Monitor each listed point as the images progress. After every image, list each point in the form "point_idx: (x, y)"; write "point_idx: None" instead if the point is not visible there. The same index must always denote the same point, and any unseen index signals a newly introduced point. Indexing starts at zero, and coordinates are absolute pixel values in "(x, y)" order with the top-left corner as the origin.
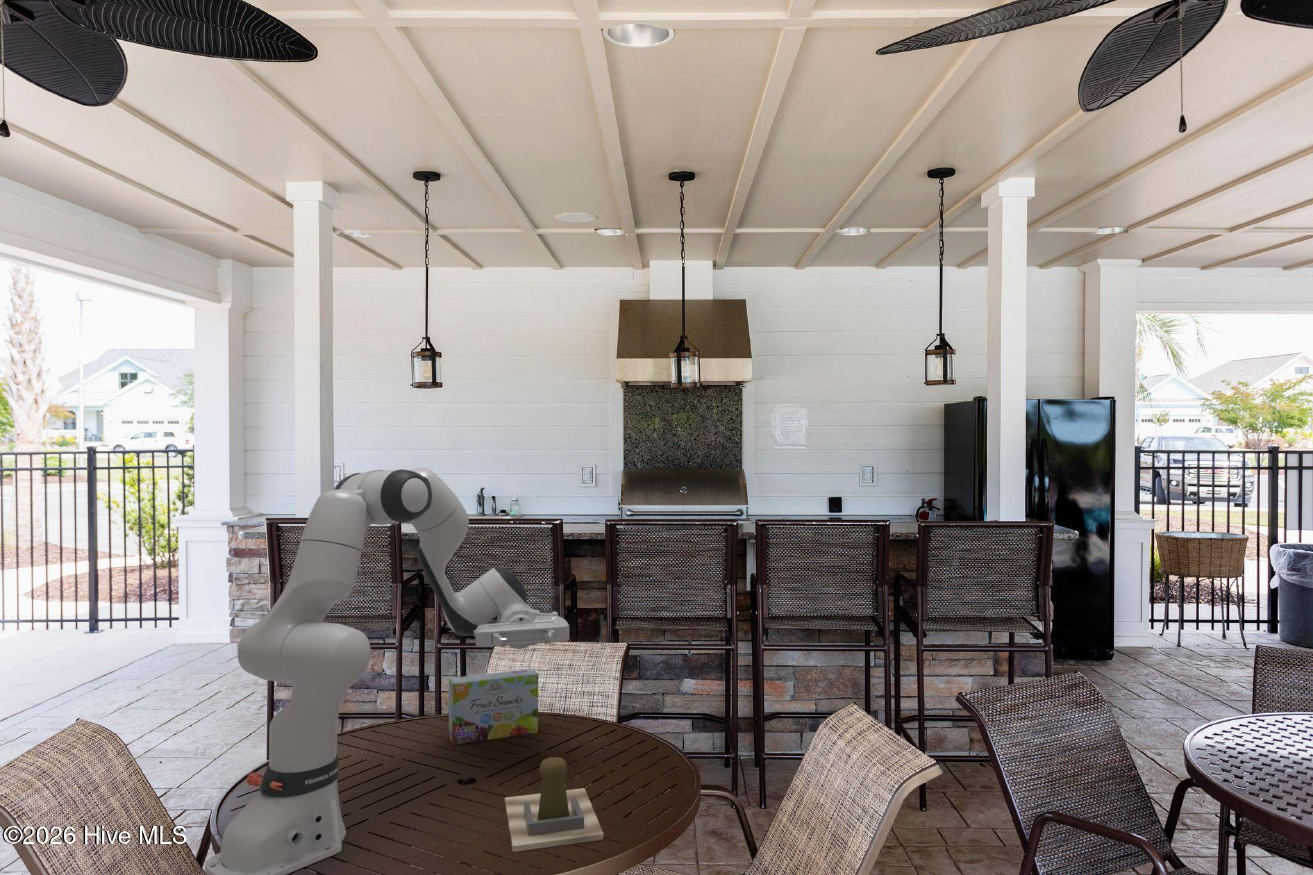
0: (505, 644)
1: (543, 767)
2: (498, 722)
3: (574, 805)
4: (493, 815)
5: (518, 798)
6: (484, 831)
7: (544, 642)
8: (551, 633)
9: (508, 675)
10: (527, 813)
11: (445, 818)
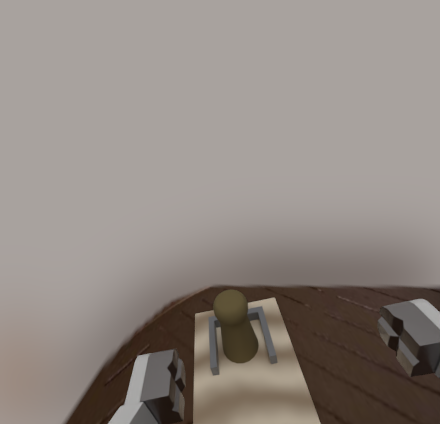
0: (382, 322)
1: (241, 293)
2: None
3: (214, 343)
4: (322, 381)
5: (296, 418)
6: (317, 339)
7: (183, 379)
8: (115, 415)
9: None
10: (266, 327)
11: (391, 379)
